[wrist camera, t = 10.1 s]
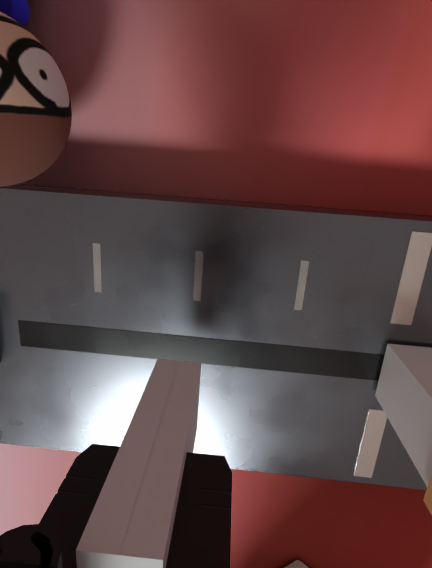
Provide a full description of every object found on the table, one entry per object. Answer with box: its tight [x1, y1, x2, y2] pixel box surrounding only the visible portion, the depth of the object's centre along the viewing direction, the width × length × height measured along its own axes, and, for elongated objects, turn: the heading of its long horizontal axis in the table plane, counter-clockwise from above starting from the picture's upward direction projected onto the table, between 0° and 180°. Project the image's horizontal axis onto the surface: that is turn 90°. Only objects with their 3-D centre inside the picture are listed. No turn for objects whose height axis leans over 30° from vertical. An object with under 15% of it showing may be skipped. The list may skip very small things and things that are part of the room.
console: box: [0, 184, 432, 490], centre depth 16 cm, size 28×12×3 cm, turn 86°
